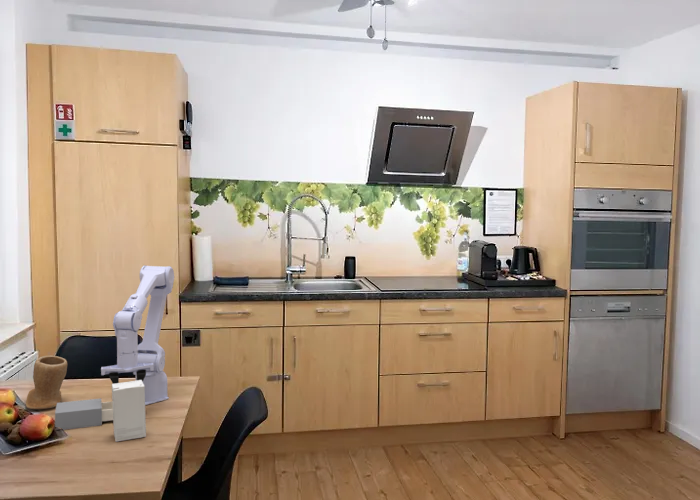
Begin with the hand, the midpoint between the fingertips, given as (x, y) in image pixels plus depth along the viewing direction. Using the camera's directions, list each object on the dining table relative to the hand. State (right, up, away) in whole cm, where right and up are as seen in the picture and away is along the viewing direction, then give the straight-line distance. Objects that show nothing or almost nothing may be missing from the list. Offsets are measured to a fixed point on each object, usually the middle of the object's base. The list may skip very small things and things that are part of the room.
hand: (127, 395), depth 178 cm
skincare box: (+5, -8, -14) cm, 17 cm away
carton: (-12, -7, -5) cm, 15 cm away
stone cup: (-29, -5, +10) cm, 31 cm away
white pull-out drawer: (-5, -6, -2) cm, 8 cm away
